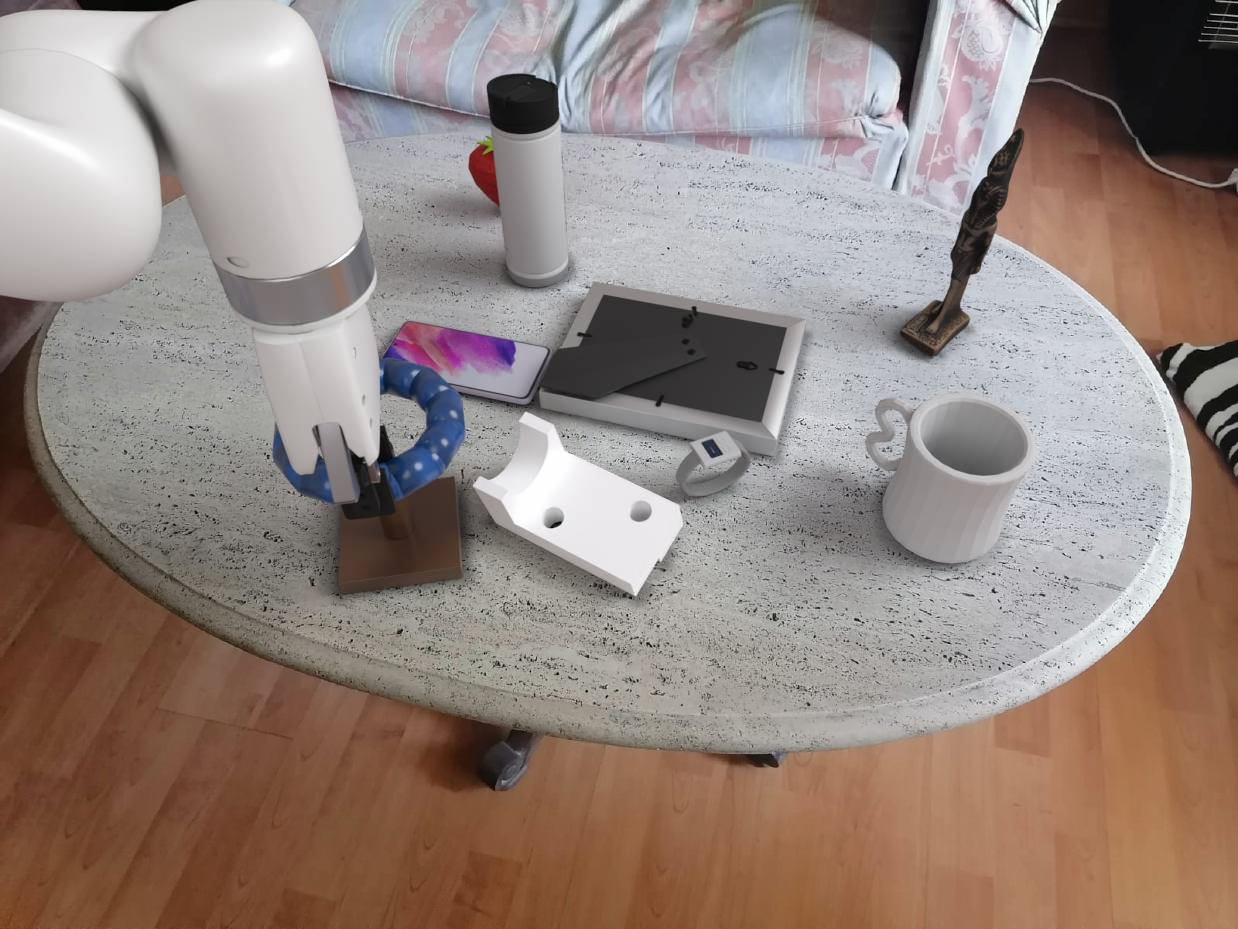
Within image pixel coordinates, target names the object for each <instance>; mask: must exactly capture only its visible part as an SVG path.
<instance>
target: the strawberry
mask: <svg viewBox="0 0 1238 929" xmlns="http://www.w3.org/2000/svg"><path fill="white" fill-rule="evenodd" d="M484 137H485V138H486V139H488V140H483V141H477V142H476V145H478V146H476V147H475V148H474V149H473V150H472V151H471V152H470V154H469V156H468V165H467V169H468V172H469V174H470V176H471V178H472V179H473V181H474V184H475V186H476V187H477V188H478V189H479V190H480V191H481V192H482V193H483V194H484V195H485V196H486V198H488V199H489V200H490V201H491V202H493V203H494V204H495V205H496V206H497V207H498V208H499V209H500V203H499V195H498V187H497V178H496V170H495V161H494V153H493V144H492V136H491V135H485V136H484Z"/></svg>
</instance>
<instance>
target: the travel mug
mask: <svg viewBox="0 0 1238 929" xmlns="http://www.w3.org/2000/svg"><path fill="white" fill-rule="evenodd" d="M485 89H486V95H487V103H488V104H487V106H488V110H489V125H490V134H491V135H490V137H492V144H493V153H494V161H495V170H496V178H497V187H498V195H499V203H500V208H499V211H500V219H501V228H502V235H503V236H502V237H503V245H504V252H505V253H504V254H505V261H506V262H505V263H506V270H507V274H508V276H509V277H510V279H512V280H513V281H514V282H515V283H517V284H519V285H521V286H524V287H528V288H543V287H544V288H545V287H549V286H553V285H554V284H556V283H559V282H561V281H562V280H563V279H564V278H565V277H566V275H567V274H568V273H569V269H570V264H569V262H570V261H569V244H568V243H569V242H568V226H567V210H566V191H565V190H566V189H565V176H564V174H565V173H564V158H563V157H564V156H563V139H562V123H561V113H560V100H559V98H560V97H559V87H558V85H557V84H556V83H554V82H553V81H549V80H547V79H544V78H541V77H537V74H531V73H522V72H521V73H520V72H518V73H507V74H502V75H499V76H496V77H493V78H492V79H490V80H489V81H488V82H487V84H486V88H485Z"/></svg>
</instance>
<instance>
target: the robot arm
mask: <svg viewBox="0 0 1238 929" xmlns="http://www.w3.org/2000/svg"><path fill="white" fill-rule="evenodd" d="M320 49H321V48H320V47H319V44H318V40H317V37H316V36H315V33H314V31H313V29H312V28H311V27H310V25H309V24H308V22H307V21H306V20H305V18H304V17H303V16H301V14H299V13H298V12H297V10H294V8H292V7H290V6H288V5H287V4H285V3H282V2H281V1H277V0H193V1H190V2H186V3H183V4H181V5H178V6H175V7H173V8H170V9H169V10H157V11H155V10H154V11H151V10H150V11H127V10H126V11H121V10H117V11H116V10H115V11H113V10H88V9H87V10H85V9H33V10H25V11H23V10H22V11H19V12H13V13H9V14H6V15H3V16H0V296H3V297H10V298H15V299H21V300H26V301H27V300H28V301H33V302H34V301H35V302H53V303H63V302H64V303H67V302H77V301H86V300H91V299H94V298H98V297H101V296H105V295H109V294H111V293H114V292H115V291H117V290H119V289H120V288H123V287H124V286H126V285H128V283H130V282H131V281H132V280H134V279H135V278H136V277H137V276H139V275H140V274H141V273H142V271H143V270H144V268H145V267H146V266H147V264H148V263H149V262H150V260H151V259H152V257H153V255H154V253H155V250H156V247H157V245H158V242H159V240H160V236H161V231H162V221H163V201H162V189H161V176H162V175H165V176H170V177H172V178H173V179H175V180H177V182H178V183H179V185H180V186H181V188H182V191H183V193H184V195H185V198H186V200H187V203H188V205H189V207H190V210H191V212H192V215H193V217H194V220H195V222H196V224H197V227H198V230H199V232H200V234H201V236H202V240H203V241H204V244H205V246H206V249H207V251H208V253H209V257H210V259H211V261H212V264H213V266H214V270H215V271H216V274H217V276H218V278H219V279H218V280H219V282H220V284H221V286H222V288H223V291H224V294H225V295H226V298H227V301H228V303H229V306H230V308H231V311H232V312H233V314H234V315H235V316H236V317H237V319H239V320H240V321H241V322H242V323H243V324H245V325H247V326H249V327H250V328H251V334H252V340H253V345H254V352H255V356H256V360H257V365H258V367H259V373H260V375H261V376H260V377H261V379H262V383H263V386H264V390H265V393H266V396H267V400H268V403H269V405H270V409H271V411H272V415H273V418H274V420H275V421H276V424H277V427H278V430H279V433H280V435H281V438H282V441H283V444H284V447H285V450H286V453H287V456H288V458H289V461H290V464H291V466H292V468H293V469H294V470H295V471H296V472H297V473H298V474H300V475H304V474H314V470H315V466H316V462H317V457H318V453H319V452H321V453H319V454H321V457H322V458H323V459H324V462H325V465H326V469H327V473H328V478H329V483H330V487H331V492H332V497H333V501H334V504H335V505H334V506H336V505H339V504H340V505H341V507H342V510H343V513H344V515H345V517H346V518H347V519H349V520H355V519H367V518H373V517H378V516H385V515H392V514H394V513H395V512H396V503H395V500H394V496H393V493H392V490H391V487H390V483H389V480H388V477H387V473H386V470H385V468H381V467H379V465H378V464H380V463H386V462H387V461H389V460H391V459H393V458H394V456H393V452H392V449H391V445H390V442H391V441H390V439H389V436H388V432H387V428H386V425H385V424H382V425H381V421H382V419H381V418H382V417H381V395H380V369H379V359H380V357H379V350H378V346H377V340H376V335H375V331H374V326H373V323H372V320H371V315H370V311H369V308H368V304H367V303H368V301H369V300H370V298H371V297H372V295H373V294H374V292H375V290H376V287H377V282H378V272H377V269H376V265H375V262H374V258H373V254H372V249H371V246H370V242H369V238H368V233H367V230H366V226H365V222H364V217H363V213H362V210H361V206H360V201H359V197H358V194H357V190H356V187H355V183H354V179H353V174H352V170H351V168H350V164H349V160H348V156H347V152H346V148H345V144H344V139H343V135H342V131H341V127H340V123H339V120H338V116H337V112H336V108H335V103H334V99H333V95H332V91H331V88H330V83H329V80H328V75H327V72H326V67H325V64H324V60H323V56H322V53H321V50H320ZM275 421H274V422H275ZM389 441H390V442H389ZM341 507H340V508H341Z"/></svg>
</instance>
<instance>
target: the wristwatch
mask: <svg viewBox="0 0 1238 929" xmlns="http://www.w3.org/2000/svg"><path fill="white" fill-rule="evenodd" d="M688 446H689V449H690V451H691V452H689V453H688V454H687V455H686V456H685V457H684V458H683V460H682V461H681V462H680V464H679V465H678V468H677V469H676V472H675V480H676V482H677V485H679V487H680V489H681V490H682V492H684V493H685V494H687V495H689V496H693V497H705V496H710V495H713V494H717V493H719V492H721V491H723V490H724V489H726V488H728V487H730V486H731V485H733V484H735V483H736V482H737V481H738V480H740V479H741V478H742V477H743V476H744V475H746V473H747V471H748V470H749V468H750V466H751V463H752V458H751V454H750V452H749V451H747V450H746V449H745V447H744V446H743V445H742V443H741V442H739V441H738V440H736V439H734V438H731V437H730V436H729V434H728V433H727V431H723V432H720V433H717V434H714V435H711V436H708V437H705V438H702V439H699V440H692V441H690V442H689V445H688ZM736 459H737V460H736ZM733 460H736V462H735V463H734V464H733V465H732V466H730V468H728V469H727V470H726V471H724V472H722V473H721V474H720V475H719V474H718V475H717V476H716V477H714V478H711V479H709V480H707V481H703V482H698V483H689V482H687V480H688V478H689V476H690V475H691V473H692V472H693V471H694V470H695V469H696V468H697V467H698V466H699V465H701V467H702V469H703V470H708V469H710V468H713V467H716V466H719V465H722V464H725V463H728V462H730V461H733Z"/></svg>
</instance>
